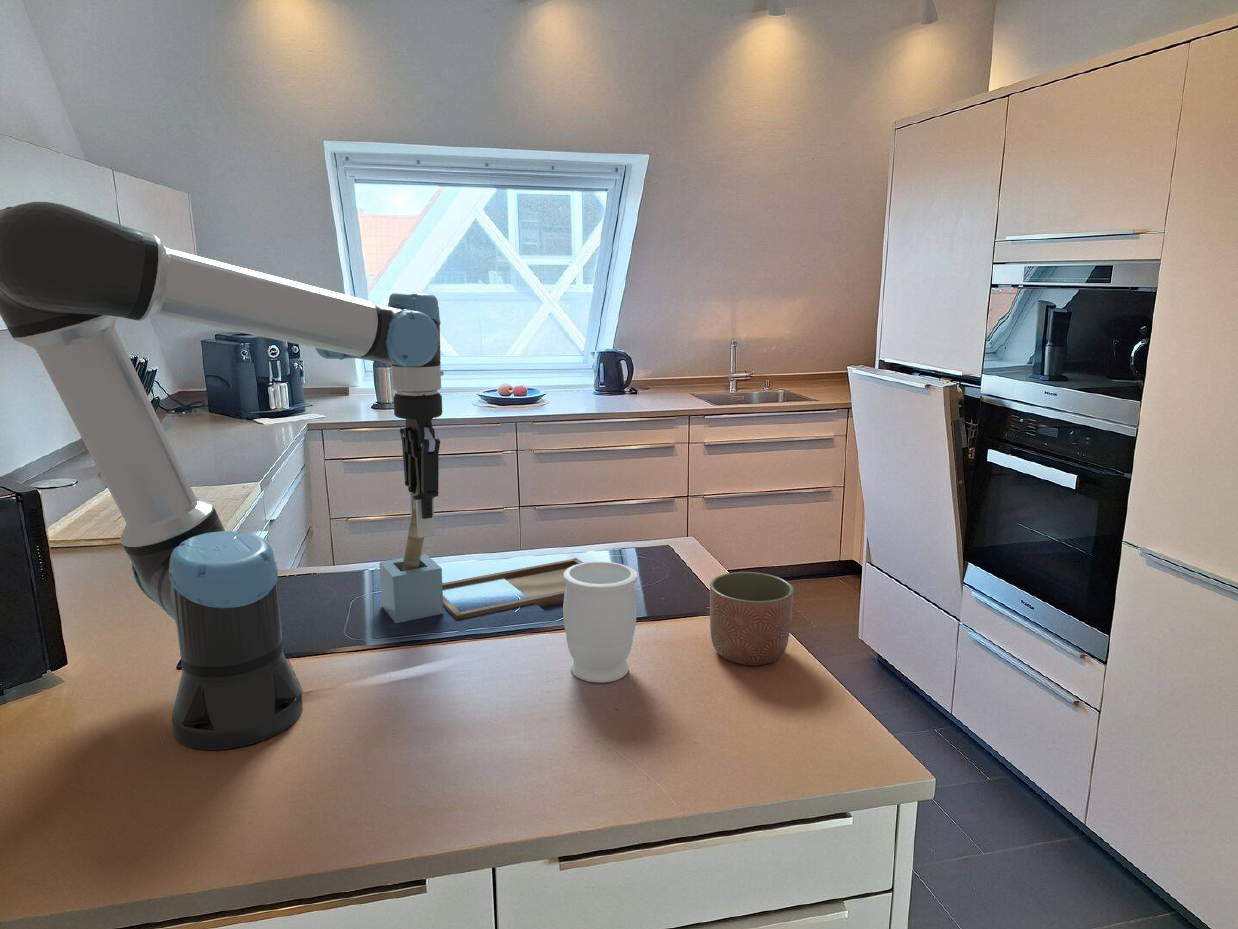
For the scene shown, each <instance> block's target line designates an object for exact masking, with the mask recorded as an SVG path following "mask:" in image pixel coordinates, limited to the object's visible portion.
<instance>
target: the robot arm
mask: <svg viewBox="0 0 1238 929" xmlns="http://www.w3.org/2000/svg"><path fill="white" fill-rule="evenodd" d="M151 316H159V317H164V318H169V319H173V320H178V321H183V322H188V323H191V324H192V323H193V324H198V325H202V326H208V327H213V328H217V329H218V328H219V329H223V330H226V331H227V330H228V331H232V332H236V333H237V332H238V333H242V334H246V335H251V336H257V337H261V338H267V339H272V340H277V341H280V342H286V343H289V344H290V343H291V344H296V345H300V346H306V347H311V348H315V351H316V352H317V354H318V355H319V356H320V357H322V358H323V359H326V360H340V361H341V360H344V359H359V360H365V361H371V362H375V363H376V362H379V363H386V364H391V380H392V383H391V384H392V390H394V391H395V392H396V393H395V394H394V395H393V397H392V398H393V399H392V400H393V415H394V416H395V417H396V418H398V419H401V420H405V426H404V427H403V426H401V427H400V429H399V433H400V437H401V438H400V439H401V447H402V448H401V449H402V460H403V461H402V462H403V474H404V485H405V487H407V489H408V493H409V503H410V504H409V507H410V511H409V512H410V517H411V516H412V510H413V505H414V500H416V518H417V537H418V538H422V537H424V538H427V537H435V536H436V535H435V534H436V531H435V530H436V529H435V506H434V505H435V503H434V502H435V501H434V500H435V498H436V497H439V472H440V471H439V466H440V465H439V460H440V459H439V457H440V456H439V453H440V447H441V446H440V445H441V440H440V438H439V437H438V438H437V437H436V431H435V428H433V422H432V420H433V419H436V418H439V417H441V416H442V415H443V395H442V394H441V392H438V391H440V390H441V389H442V377H443V376H444V373H445V371H444V370H442V369H441V368H442V366H441V364H442V362H441V317H440V307H439V301H438V299H437V297H436V295H434V294H432V293H423V292H421V293H419V292H417V293H416V292H409V293H408V292H393V293H391V294H390V295H389V297H388V303H387V305H384V304H382V303H378V302H372V301H370V300H366V299H363V298H359V297H356V296H351V295H348V294H344V293H340V292H336V291H332V290H330V289H329V290H328V289H324V288H320V287H317V286H313V285H310V284H305V283H302V282H298V281H294V280H290V279H287V278H283V277H280V276H275V275H271V274H267V273H265V272H260V271H256V270H253V269H249V268H245V267H241V266H237V265H233V264H230V263H226V262H222V261H218V260H215V259H210V258H207V257H203V256H200V255H196V254H192V253H189V252H184V251H181V250H177V249H172V248H169V247H166V246H165V245H164V244H163V242H162V241H161V240H160V239H159V237H158V235H155V234H152V233H149V232H145V231H141V230H138V229H134V228H132V227H128V226H125V225H122V224H119V223H117V222H114V221H110V220H108V219H104V218H102V217H98V216H96V215H93V214H91V213H88V212H86V211H83V210H81V209H77V208H74V207H71V206H69V205H64V204H61V203H56V202H55V203H54V202H50V201H32V202H31V201H30V202H27V203H25V202H24V203H21V204H17V205H15V206H7V207H5V208H3V209H0V317H1V318H2V321H3V322H4V324H5V327H6V328H7V330H8V332H9V334H10V335H11V337H12V339H13V341H15V342H18V343H21V344H24V345H26V346H28V347H31V348H33V349H34V350H35V351H36V353H37V354H38V357H39V358H40V361H41V362H42V365H43V366H44V368H45V371H46V372H47V374H48V376H49V377H50V380H51V381H52V383H53V386H54V388H55V389H56V391H57V394H59V397H60V399H61V400H62V403H63V405H64V407H65V408H66V409H65V410H66V411H67V412H68V414H69V416H70V418H71V420H72V422H73V424H74V426H75V427H76V429H77V431H78V433H79V436H80V438H81V439H82V441H83V444H84V445H85V446H86V449H87V451H88V454H89V455H90V456H91V458H92V461H93V463H94V464H95V466H96V468H97V470H98V472H99V474H100V476H101V477H102V479H103V482H104V483H105V485H106V487H107V489H108V490H109V493H110V495H111V497H112V499H113V500H114V503H115V505H116V506H117V508H118V510H119V512H120V514H121V516H122V518H123V520H124V522H125V526H124V529H123V530H122V532H121V535H120V537H119V542H120V544H121V545H122V547H123V549H124V551H125V553H126V554H127V556H128V559H130V563H131V570H132V574H133V578H134V580H135V582H136V585H137V586H138V588H139V589H140V590H141V591H142V593H143V594H144V595H145V596H147V598H149V599H150V600H152V602H154V603H156V604H157V605H158V606H159V607H160V608H161V609H162V610H163V611H164V612H165V613H167V615H168V616H169V617H170V618H172V620H174V622H175V624H176V629H177V630H176V631H177V638H178V648H179V657H180V662H181V664H180V665H181V676H180V680H179V684H178V688H177V692H176V695H175V696H176V697H175V700H174V704H173V707H172V712H171V724H172V725H171V726H172V732H173V736H174V738H175V740H176V741H177V742H179V743H180V744H182V745H184V746H186V747H188V748H193V749H197V750H204V751H205V750H206V751H208V750H209V751H218V750H228V749H235V748H237V749H238V748H239V747H241V748H242V747H245V746H250V745H253V744H257V743H259V742H262V741H265V740H267V739H270V738H271V737H274V736H276V735H277V734H279V733H282V732H283V731H285V730H286V729H288V728H289V727H291V726H292V725H293V724H294V723H295V722H296V721H297V720H298V719H299V717H300V716H301V714H302V712H303V708H304V707H303V696H302V689H301V687H300V684H299V683H298V680H297V678H296V677H295V676H296V675H295V674H294V672H293V670H292V668H291V666H290V664H289V662H288V660H287V658H286V655H285V652H284V648H283V646H284V645H283V633H282V623H281V622H282V619H281V609H280V607H281V606H280V598H279V597H280V596H279V587H278V585H279V584H278V577H279V570H278V566H277V562H276V560H275V554H274V550H273V548H272V546H271V545H270V543H268V541H266V540H265V539H264V538H262V537H260V536H258V535H255V534H254V533H253V534H252V533H248V532H244V533H240V532H239V531H230V530H229V531H228V530H225V528H224V525H223V523H222V521H221V519H220V517H219V515H218V513H217V510H216V509H215V506H214V504H213V502H212V501H209V500H207V499H204V498H200V497H198V496H196V495H195V493H194V491H193V489H192V487H191V484H190V482H189V481H188V478H187V477H186V474H185V472H184V470H183V468H182V465H181V464H180V461H179V459H178V458H177V455H176V453H175V451H174V449H173V447H172V444H171V443H170V440H169V438H168V436H167V434H166V431H165V430H164V428H163V426H162V423H161V421H160V419H159V417H158V415H157V413H156V411H155V408H154V406H153V404H152V402H151V401H150V398H149V396H148V393H147V392H146V389H145V388H144V386H143V384H142V381H141V379H140V377H139V375H138V373H137V370H136V369H135V367H134V364H133V362H132V360H131V357H130V356H129V354H128V351H127V350H126V347H125V346H124V345H125V344H124V343H123V341H122V339H121V336H120V334H119V333H118V331H117V329H116V323H117V320H118V318H123V319H128V320H134V321H138V322H141V321H145V319H147V318H149V317H151ZM416 487H417V490H418V496H415V493H416Z"/></svg>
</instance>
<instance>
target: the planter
mask: <svg viewBox="0 0 1238 929" xmlns="http://www.w3.org/2000/svg"><path fill="white" fill-rule="evenodd" d="M794 591H795V590H794V587H793V585H792V584H791V583H790V582H788V581H787V580H785V579H783V578H781V577H779V576H776V575H771V574H769V573H762V572H754V571H753V572H752V571H738V572H737V571H736V572H734V571H733V572H729V573H724V574H720V575H718V576H715V577H714V578H713V579H712V580H711V581H710V583H709V623H710V624H709V625H710V626H709V628H710V637H711V642H712V645H713V648H714V649H715V651H716V652H717V654H719V655H720V656H721V657H722V658H724V659H726V660H728V661H729V662H733V663H737V664H740V665H745V666H747V665H748V666H762V665H766V664H770V663H774V662H775V661H777V660H778V659H780V658H781V657H783V655H784V653H785V652H786V649H787V646H788V643H789V638H790V632H791V631H790V630H791V625H792V624H791V622H792V614H793V604H794Z"/></svg>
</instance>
